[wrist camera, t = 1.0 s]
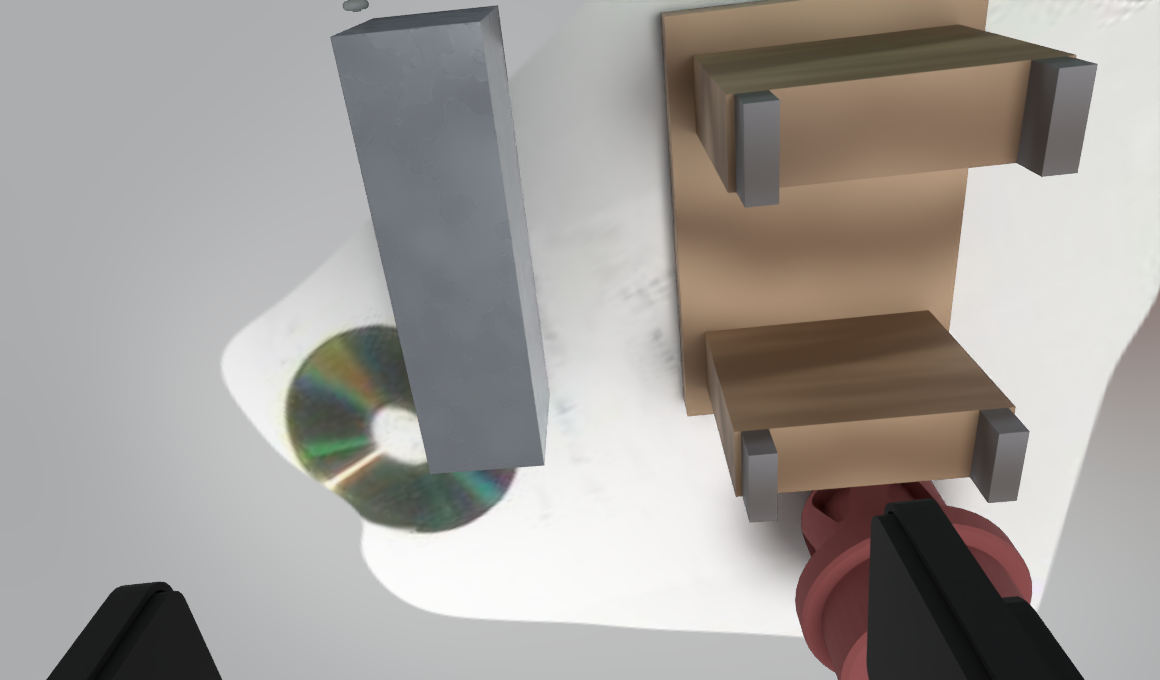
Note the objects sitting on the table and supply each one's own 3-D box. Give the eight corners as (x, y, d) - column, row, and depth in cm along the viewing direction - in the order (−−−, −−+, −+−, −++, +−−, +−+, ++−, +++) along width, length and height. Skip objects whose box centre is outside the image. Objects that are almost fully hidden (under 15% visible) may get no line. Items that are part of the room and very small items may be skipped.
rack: (660, 12, 31) (695, 52, 21) (973, -25, 30) (1158, -2, 20) (684, 399, 39) (716, 556, 29) (929, 377, 38) (1045, 529, 29)
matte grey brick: (373, 18, 31) (330, 36, 26) (497, 5, 31) (480, 21, 26) (451, 400, 40) (430, 473, 34) (549, 392, 39) (544, 465, 34)
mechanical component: (846, 591, 45) (726, 500, 42) (993, 489, 42) (874, 381, 39) (929, 803, 34) (775, 701, 31) (1139, 688, 31) (988, 560, 28)
